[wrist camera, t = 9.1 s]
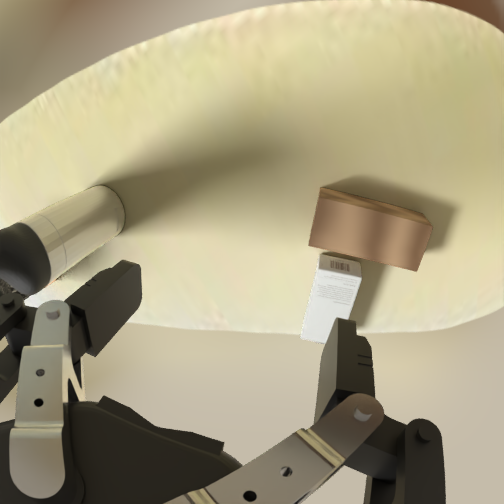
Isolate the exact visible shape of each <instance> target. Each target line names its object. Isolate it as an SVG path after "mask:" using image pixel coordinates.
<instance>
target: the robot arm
mask: <svg viewBox="0 0 504 504" xmlns="http://www.w3.org/2000/svg"><path fill="white" fill-rule="evenodd" d="M124 223H125V213H124V208H123V205H122V203H121V201H120V199H119V197H118V196H117V194H116V193H115V192H114V191H113V190H111V189H110V188H108V187H106V186H101V185H98V186H94V187H92V188H89V189H87V190H85V191H82V192H80V193H78V194H75V195H73V196H71V197H69V198H66V199H64V200H62V201H60V202H58V203H55V204H53V205H51V206H49V207H47V208H45V209H43V210H41V211H39V212H37V213H35V214H33V215H31V216H29V217H27V218H25V219H23V220H21V221H19V222H17V223H15V224H13V225H11V226H10V227H7V228H4V229H1V230H0V278H1V279H3V280H4V281H5V282H7V283H8V284H9V285H11V286H12V287H13V288H14V289H15V290H17V291H18V292H20V293H22V294H25V295H34V294H36V293H38V292H39V291H41V290H42V289H43V288H44V287H46V286H47V285H48V284H50V283H51V282H52V281H54V280H55V279H56V278H58V277H59V276H60V275H62V274H63V273H64V272H66V271H67V270H68V269H70V268H71V267H72V266H74V265H75V264H77V263H78V262H79V261H81V260H82V259H84V258H85V257H86V256H88V255H89V254H91V253H92V252H93V251H95V250H96V249H98V248H99V247H101V246H102V245H104V244H105V243H106V242H108V241H109V240H111V239H112V238H114V237H115V236H117V235H118V234H119V233H120V232H121V231H122V229H123V226H124ZM141 300H142V284H141V267H140V265H139V264H136V263H132V262H129V261H126V260H121V261H120V262H119V263H117V264H116V265H115V266H114V267H112V268H108V269H105V270H103V271H100V272H99V273H97V274H96V275H95V276H94V277H92V278H91V280H89V281H87V282H86V283H85V285H83V286H81V287H80V288H79V289H78V290H77V291H75V292H74V293H73V294H72V295H71V296H69V297H68V298H67V299H66V300H65V301H64V302H63V301H60V300H51V301H48V302H45V303H43V304H42V305H41V306H39V308H35V307H29V306H25V303H24V300H23V297H22V296H21V295H20V294H18V293H7V294H3V293H2V292H1V289H0V340H1V339H2V338H3V337H4V336H5V337H6V339H7V341H8V344H9V345H8V346H7V347H6V348H5V349H4V350H3V351H2V352H1V353H0V403H1V402H2V401H3V400H4V398H5V397H6V396H7V395H8V393H9V392H10V391H11V390H12V389H13V387H14V386H15V385H16V383H17V382H18V388H17V399H16V413H15V419H13V420H10V421H6V422H2V423H0V504H301V503H302V502H303V501H304V500H306V499H307V498H308V497H309V496H310V495H311V494H313V493H314V492H315V491H316V490H317V489H318V488H320V487H321V486H322V485H323V484H324V483H325V482H326V481H328V480H329V479H330V478H331V477H332V476H333V475H334V474H336V473H337V472H338V471H339V470H340V469H341V468H342V467H343V466H344V465H345V466H348V467H350V468H352V469H354V470H357V471H359V472H362V473H364V474H366V475H367V480H366V488H365V497H364V503H363V504H446V494H445V471H444V456H443V446H442V436H441V433H440V431H439V429H438V428H437V426H436V425H434V424H433V423H432V422H430V421H429V420H425V419H415V420H413V421H411V422H410V423H409V424H408V425H406V424H403V423H401V422H398V421H396V420H394V419H391V418H389V417H388V416H386V415H385V414H384V409H383V407H382V405H381V404H380V403H379V401H378V400H376V399H375V386H374V372H373V368H372V367H373V361H372V350H371V346H370V344H369V343H368V341H367V339H366V338H365V337H363V336H358V335H357V333H356V322H355V321H352V320H347V319H343V318H338V317H336V319H335V321H334V323H333V326H332V329H331V331H330V334H329V336H328V339H327V341H326V344H325V347H324V350H323V353H322V357H321V363H320V374H319V383H318V393H317V402H316V409H315V417H314V425H312V426H311V427H310V428H308V429H307V430H305V429H299V430H298V431H296V432H295V433H293V434H292V435H290V436H289V437H287V438H286V439H284V440H283V441H281V442H280V443H278V444H277V445H275V446H274V447H272V448H271V449H269V450H268V451H266V452H265V453H263V454H262V455H260V456H259V457H257V458H256V459H254V460H252V461H251V462H249V463H247V464H246V465H244V466H242V464H241V463H239V462H238V461H237V460H236V459H235V458H233V457H232V456H231V455H229V454H227V453H226V452H224V451H223V447H224V442H221V441H218V440H215V439H211V438H208V437H205V436H202V435H199V434H196V433H193V432H187V431H180V430H173V429H166V428H160V427H156V426H154V425H153V424H151V423H150V422H149V421H147V420H146V419H145V418H143V417H142V416H140V415H139V414H138V413H136V412H135V411H134V410H132V409H131V408H130V407H127V406H125V405H123V404H121V403H119V402H117V401H114V400H112V399H110V398H108V397H106V396H103V397H102V398H101V400H100V401H99V402H92V401H86V398H85V388H84V371H83V359H82V356H83V355H84V354H85V352H86V353H88V354H90V355H92V356H94V357H96V356H97V355H98V354H99V352H100V351H101V350H102V349H103V348H104V347H105V345H106V344H107V343H108V342H109V341H110V340H111V339H112V337H113V336H114V335H115V334H116V333H117V332H118V330H119V329H120V328H121V327H122V326H123V325H124V324H125V323H126V322H127V320H128V319H129V318H130V317H131V316H132V315H133V314H134V313H135V311H136V310H137V309H138V308H139V306H140V303H141Z"/></svg>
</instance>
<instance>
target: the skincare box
mask: <svg viewBox="0 0 504 504" xmlns="http://www.w3.org/2000/svg"><path fill="white" fill-rule="evenodd" d="M361 281H362V272H361V265H360V263H359V262H357V261H353V260H348V259H343V258H338V257H333V256H328V255H323V254H320V255H319V258H318V263H317V267H316V271H315V276H314V280H313V284H312V288H311V292H310V296H309V300H308V304H307V308H306V313H305V316H304V320H303V326H302V332H301V336H300V339H304V340H309V341H314V342H316V343H321V344H326V341H327V339H328V336H329V334H330V331H331V329H332V326H333V323H334V321H335V319H336V317H338V318H343V319H347V320H348V319H349V317H350V314H351V311H352V308H353V305H354V302H355V299H356V296H357V293H358V290H359V287H360V284H361Z"/></svg>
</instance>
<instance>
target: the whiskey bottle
mask: <svg viewBox="0 0 504 504" xmlns="http://www.w3.org/2000/svg"><path fill="white" fill-rule="evenodd" d="M56 279H57V278H56ZM56 279H55V280H56ZM55 280H54V281H55ZM54 281H52V282H51V283H53V282H54ZM51 283H50V284H51ZM50 284H48V285H50ZM48 285H47V286H48ZM47 286H46V287H47ZM44 288H45V287H44ZM0 289H1V292H2V293H3V294H7V293H18V294H20V295H21V296H22V297H23V300H25V299H27V298H28V297H29V296H31V295H25V294H22V293H20V292H18V291H17V290H15V289H14V288H13V287H12V286H11V285H9V284H8V283H7V282H5V281H4V280H3V279H1V278H0Z"/></svg>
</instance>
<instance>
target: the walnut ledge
mask: <svg viewBox="0 0 504 504" xmlns="http://www.w3.org/2000/svg"><path fill="white" fill-rule="evenodd" d="M432 229H433V226H432V225H431V224H430V222H429V221H428V220H427V219H426V217H425V216H424V215H423V214H422V213H419V212H415V211H412V210H408V209H405V208H401V207H397V206H394V205H390V204H386V203H383V202H379V201H375V200H371V199H367V198H363V197H359V196H355V195H351V194H347V193H343V192H339V191H335V190H330V189H326V188H322V187H321V188H320V192H319V197H318V202H317V206H316V211H315V216H314V220H313V225H312V229H311V234H310V240H309V245H308V246H312V247H316V248H320V249H325V250H329V251H333V252H337V253H342V254H346V255H350V256H354V257H359V258H363V259H367V260H371V261H375V262H379V263H383V264H388V265H392V266H396V267H400V268H404V269H408V270H412V271H416V272H417V270H418V268H419V265H420V262H421V260H422V257H423V254H424V252H425V249H426V246H427V243H428V241H429V238H430V235H431V232H432Z"/></svg>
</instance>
